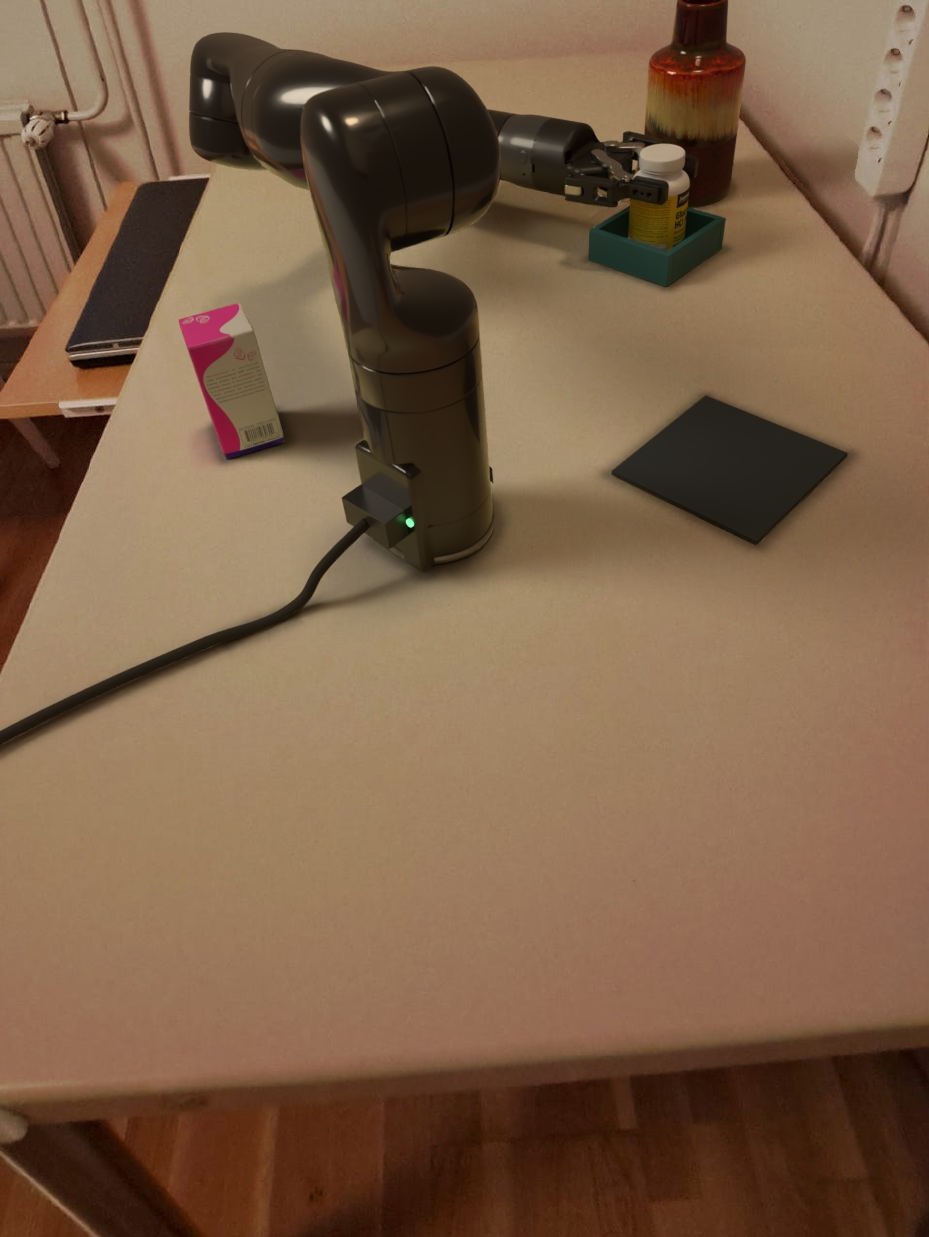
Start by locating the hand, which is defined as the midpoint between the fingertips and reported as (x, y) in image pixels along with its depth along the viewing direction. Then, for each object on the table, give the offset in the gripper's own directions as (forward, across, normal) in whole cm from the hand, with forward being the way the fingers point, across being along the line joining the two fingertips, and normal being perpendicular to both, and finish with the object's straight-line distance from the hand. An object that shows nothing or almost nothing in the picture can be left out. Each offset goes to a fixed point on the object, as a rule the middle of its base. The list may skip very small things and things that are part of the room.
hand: (681, 181), depth 98 cm
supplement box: (-19, +48, -9) cm, 53 cm away
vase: (-7, -17, -9) cm, 20 cm away
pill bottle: (-2, 0, -9) cm, 9 cm away
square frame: (-2, 0, -8) cm, 9 cm away
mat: (+21, +30, -8) cm, 38 cm away
